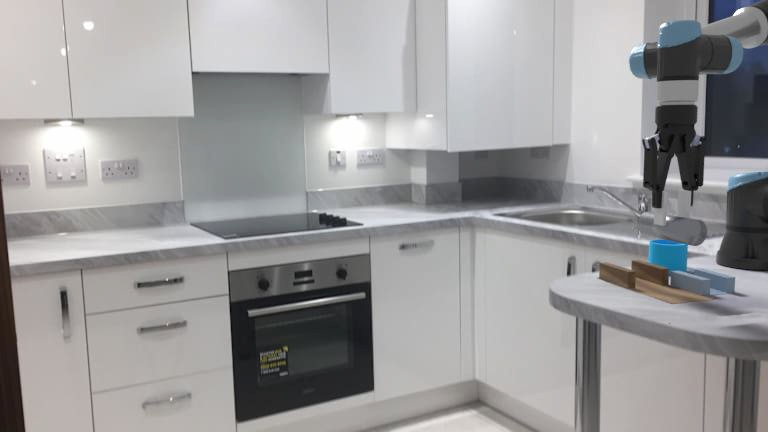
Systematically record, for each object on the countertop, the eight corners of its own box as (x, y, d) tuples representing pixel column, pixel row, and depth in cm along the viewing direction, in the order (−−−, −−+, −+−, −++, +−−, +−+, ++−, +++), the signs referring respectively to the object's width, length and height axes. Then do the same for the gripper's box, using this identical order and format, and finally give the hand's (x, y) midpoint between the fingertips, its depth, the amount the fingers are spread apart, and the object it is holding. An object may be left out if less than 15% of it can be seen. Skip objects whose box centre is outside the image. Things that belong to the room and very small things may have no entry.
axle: (634, 232, 144) (640, 209, 144) (654, 237, 146) (660, 214, 145) (682, 243, 131) (689, 217, 130) (703, 248, 132) (710, 222, 132)
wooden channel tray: (634, 280, 157) (635, 259, 156) (714, 306, 134) (715, 281, 134) (596, 284, 154) (596, 262, 154) (670, 311, 131) (672, 285, 131)
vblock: (699, 288, 149) (700, 268, 148) (736, 299, 140) (737, 277, 139) (668, 291, 147) (669, 270, 146) (703, 303, 137) (704, 280, 137)
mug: (679, 283, 155) (681, 246, 154) (642, 278, 160) (643, 242, 159) (696, 273, 164) (697, 239, 163) (660, 269, 169) (662, 236, 168)
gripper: (700, 104, 141) (695, 219, 144) (624, 104, 136) (621, 224, 139) (729, 103, 134) (723, 223, 137) (650, 103, 128) (645, 229, 131)
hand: (671, 223), depth 138 cm, fingers closed on axle, 5 cm apart
